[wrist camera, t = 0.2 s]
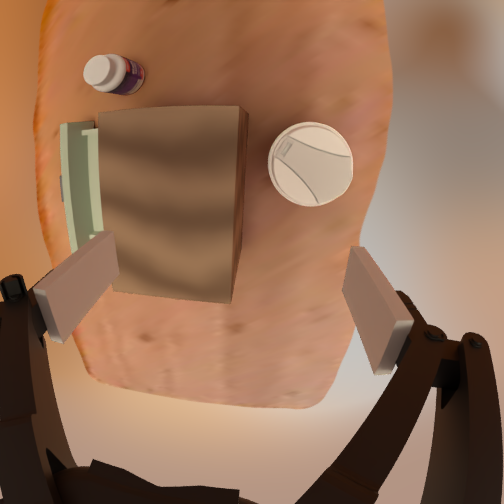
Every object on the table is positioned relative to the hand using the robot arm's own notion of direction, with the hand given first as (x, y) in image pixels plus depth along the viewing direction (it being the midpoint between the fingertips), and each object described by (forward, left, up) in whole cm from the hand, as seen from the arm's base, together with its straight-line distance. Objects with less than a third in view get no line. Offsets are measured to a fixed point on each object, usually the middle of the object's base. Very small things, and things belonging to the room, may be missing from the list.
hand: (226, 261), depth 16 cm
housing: (+1, -8, -28) cm, 29 cm away
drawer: (+1, -20, -27) cm, 34 cm away
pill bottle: (-15, -19, -28) cm, 37 cm away
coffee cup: (-4, +6, -28) cm, 29 cm away
